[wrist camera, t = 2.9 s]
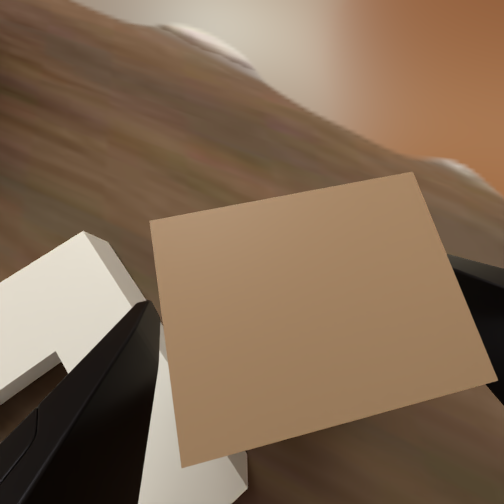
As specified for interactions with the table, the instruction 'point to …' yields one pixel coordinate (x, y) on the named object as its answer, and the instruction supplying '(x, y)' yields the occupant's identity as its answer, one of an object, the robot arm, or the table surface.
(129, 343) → the robot arm
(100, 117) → the table surface
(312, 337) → the tan topped cream pillar
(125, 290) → the socket plate
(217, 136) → the table surface
